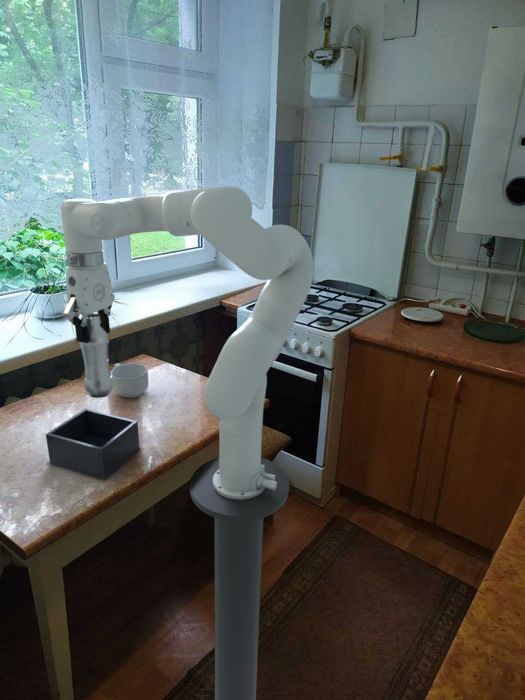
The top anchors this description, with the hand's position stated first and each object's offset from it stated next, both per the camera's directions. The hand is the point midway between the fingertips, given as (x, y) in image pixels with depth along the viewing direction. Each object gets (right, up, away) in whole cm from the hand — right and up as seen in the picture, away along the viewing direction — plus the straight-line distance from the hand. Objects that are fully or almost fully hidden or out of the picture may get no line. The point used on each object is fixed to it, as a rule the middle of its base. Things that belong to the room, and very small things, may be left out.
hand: (93, 336), depth 113 cm
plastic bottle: (0, -14, +6) cm, 15 cm away
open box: (-2, -29, +7) cm, 30 cm away
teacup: (-2, -16, +39) cm, 42 cm away
